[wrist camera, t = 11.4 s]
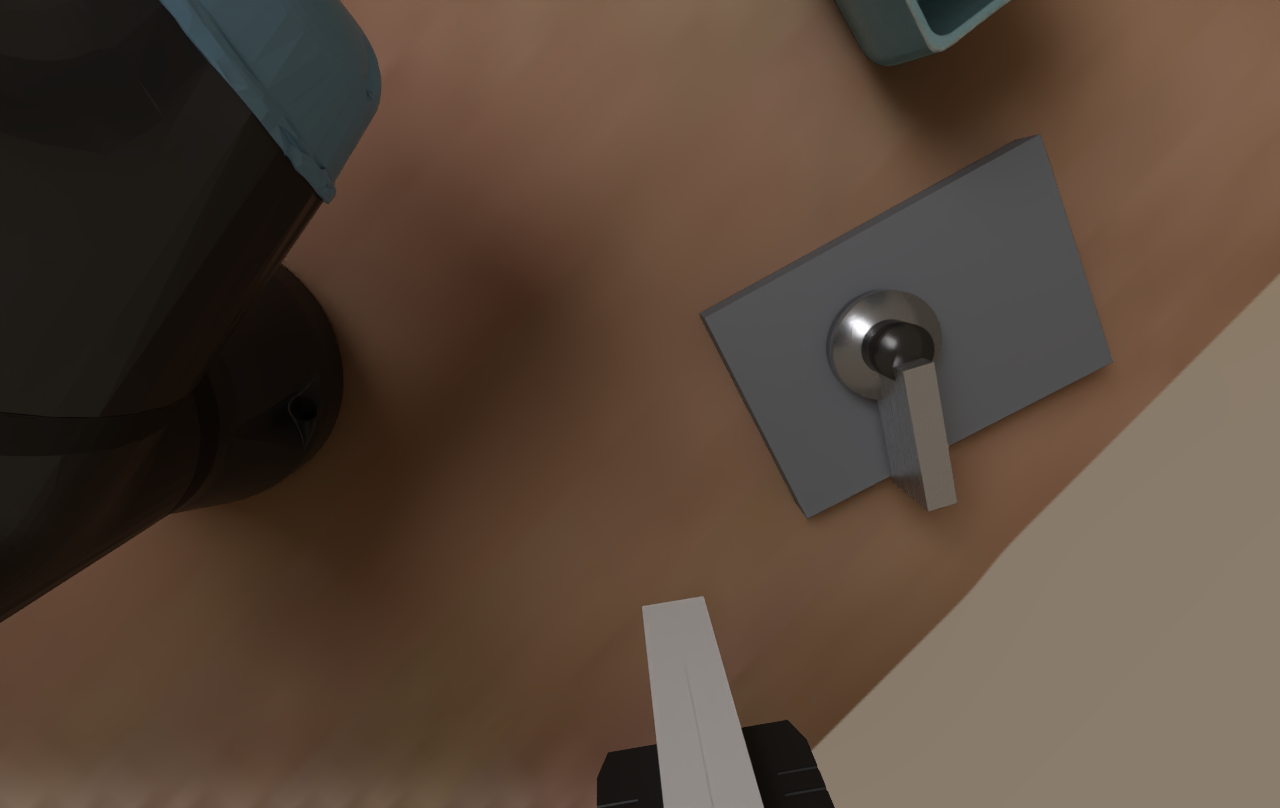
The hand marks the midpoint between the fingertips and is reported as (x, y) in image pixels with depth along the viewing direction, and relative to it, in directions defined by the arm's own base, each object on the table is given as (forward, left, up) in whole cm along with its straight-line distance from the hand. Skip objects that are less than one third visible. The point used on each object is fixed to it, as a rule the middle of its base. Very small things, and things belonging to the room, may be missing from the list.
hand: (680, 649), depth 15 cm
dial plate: (+4, +16, -22) cm, 28 cm away
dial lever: (+6, +13, -20) cm, 25 cm away
